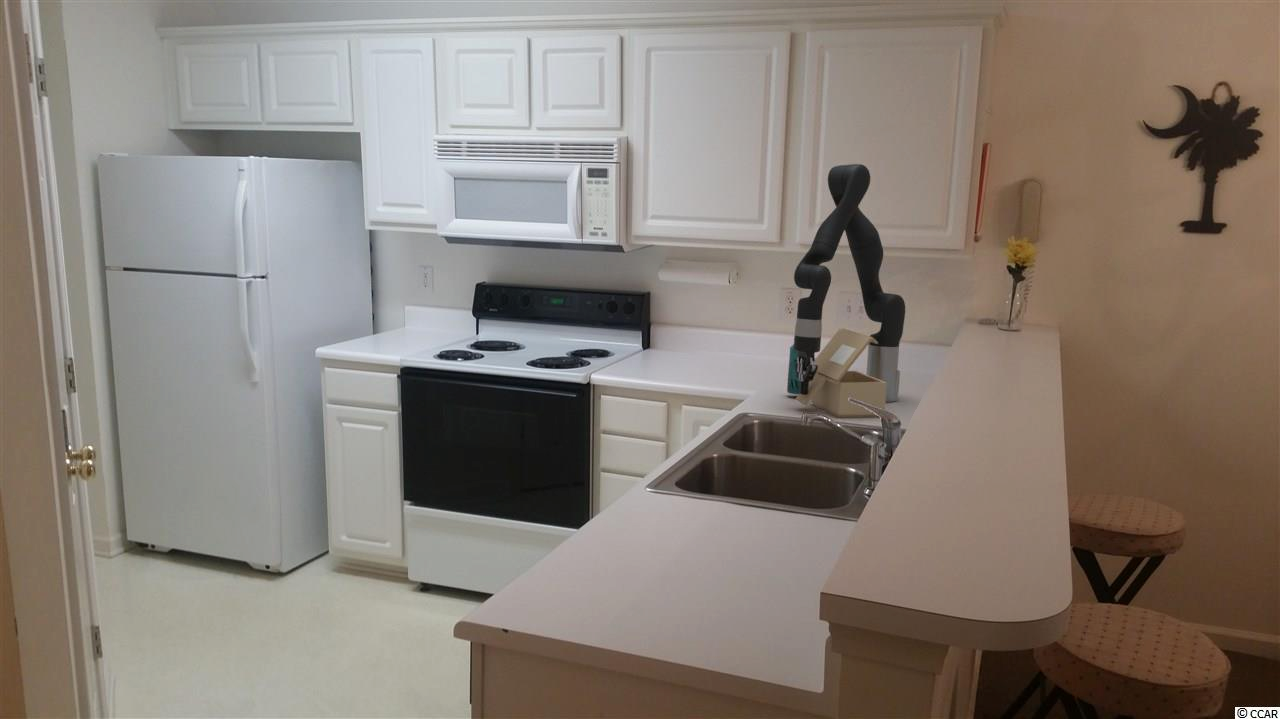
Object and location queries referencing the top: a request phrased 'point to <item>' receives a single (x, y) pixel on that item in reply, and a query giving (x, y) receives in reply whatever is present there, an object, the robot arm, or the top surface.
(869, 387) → the mailer box
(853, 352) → the lid
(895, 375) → the robot arm
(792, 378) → the beverage bottle
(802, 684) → the top surface
